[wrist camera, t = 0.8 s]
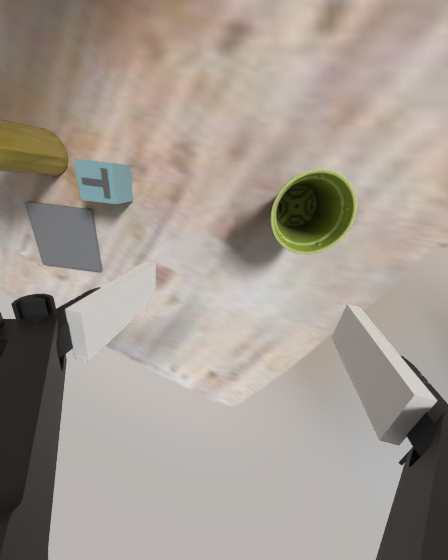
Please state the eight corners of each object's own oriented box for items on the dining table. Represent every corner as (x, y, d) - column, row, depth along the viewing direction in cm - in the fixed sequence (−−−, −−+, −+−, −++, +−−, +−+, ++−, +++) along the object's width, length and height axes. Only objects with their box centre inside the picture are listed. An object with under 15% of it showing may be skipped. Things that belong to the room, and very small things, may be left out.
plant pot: (326, 233, 33) (352, 249, 25) (266, 241, 34) (272, 258, 26) (330, 166, 29) (362, 161, 21) (261, 178, 30) (268, 177, 23)
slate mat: (28, 201, 35) (24, 201, 34) (92, 209, 34) (90, 210, 34) (45, 263, 39) (43, 264, 39) (102, 270, 39) (100, 271, 39)
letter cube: (98, 161, 31) (72, 158, 27) (130, 165, 31) (110, 163, 27) (102, 197, 34) (80, 200, 29) (133, 201, 33) (115, 204, 29)
